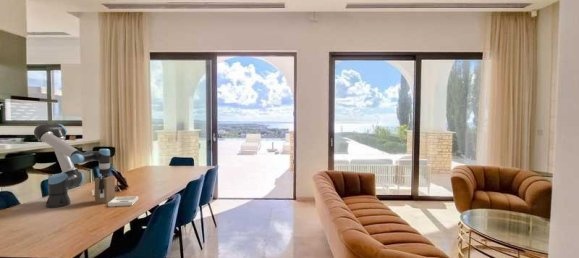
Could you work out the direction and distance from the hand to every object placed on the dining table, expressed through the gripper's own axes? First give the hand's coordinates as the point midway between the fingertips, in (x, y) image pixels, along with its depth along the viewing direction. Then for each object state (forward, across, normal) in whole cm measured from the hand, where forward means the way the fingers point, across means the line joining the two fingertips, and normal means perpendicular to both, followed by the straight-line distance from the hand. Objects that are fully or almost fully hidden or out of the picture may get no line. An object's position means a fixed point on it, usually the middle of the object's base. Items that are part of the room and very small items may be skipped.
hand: (105, 195), depth 244 cm
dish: (+5, -6, -16) cm, 17 cm away
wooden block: (+5, 0, 0) cm, 5 cm away
